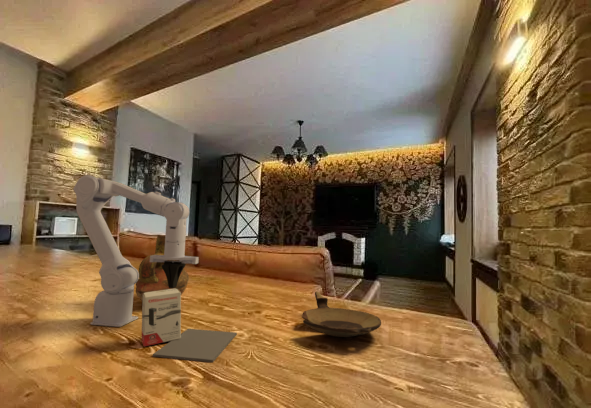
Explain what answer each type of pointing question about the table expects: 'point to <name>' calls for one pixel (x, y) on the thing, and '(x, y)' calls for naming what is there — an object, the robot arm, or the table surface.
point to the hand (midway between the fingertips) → (172, 287)
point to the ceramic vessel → (157, 273)
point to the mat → (197, 345)
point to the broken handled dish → (339, 320)
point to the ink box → (161, 316)
